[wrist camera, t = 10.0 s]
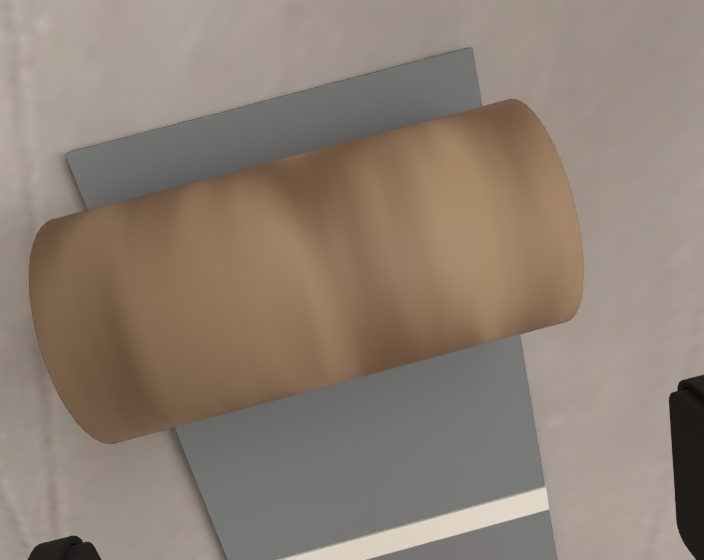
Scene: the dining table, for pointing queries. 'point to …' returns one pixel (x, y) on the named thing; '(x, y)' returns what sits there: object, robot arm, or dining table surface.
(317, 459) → the throwing mat
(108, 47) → the dining table surface
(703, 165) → the dining table surface
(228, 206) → the brown cylinder
